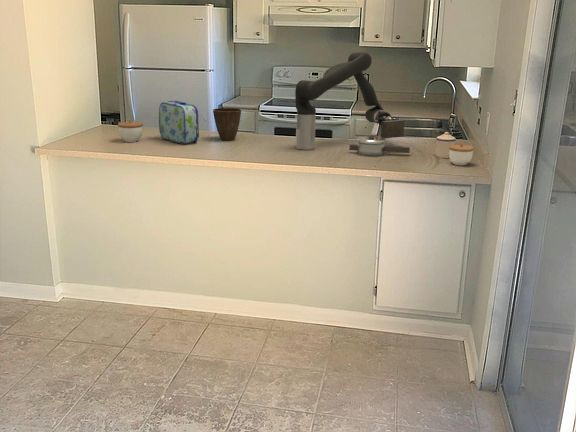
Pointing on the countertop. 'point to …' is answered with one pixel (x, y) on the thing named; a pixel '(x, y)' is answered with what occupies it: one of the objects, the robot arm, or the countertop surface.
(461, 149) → the lidded jar
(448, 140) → the beige canister
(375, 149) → the pot
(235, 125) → the plant pot
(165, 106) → the lunch box
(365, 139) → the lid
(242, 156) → the countertop surface
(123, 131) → the lidded bowl
